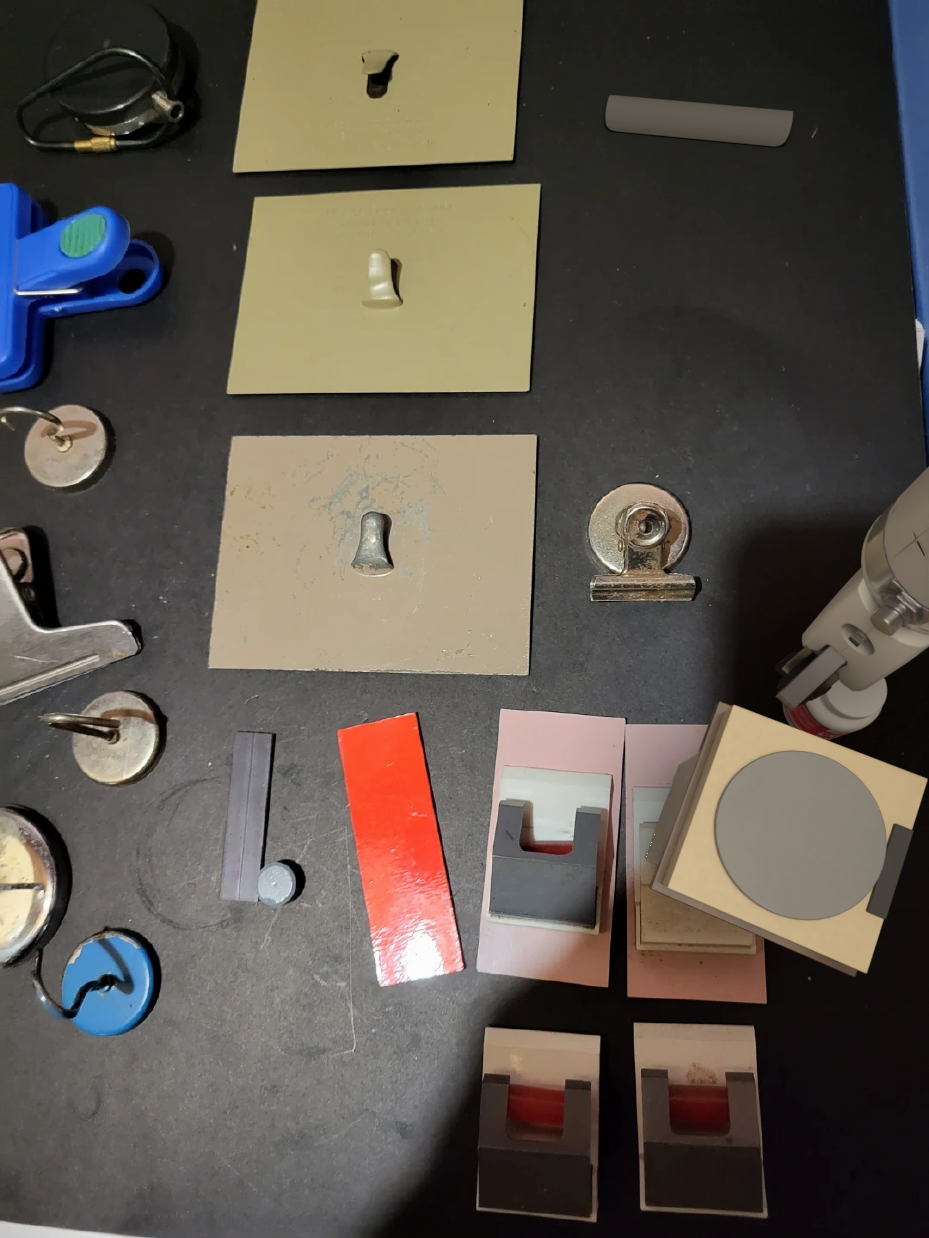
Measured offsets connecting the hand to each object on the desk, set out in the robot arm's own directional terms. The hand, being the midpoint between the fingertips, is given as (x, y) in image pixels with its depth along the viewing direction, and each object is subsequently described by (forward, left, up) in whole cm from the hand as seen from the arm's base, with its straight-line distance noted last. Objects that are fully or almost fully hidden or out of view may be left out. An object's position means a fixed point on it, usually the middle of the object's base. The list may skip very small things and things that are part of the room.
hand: (844, 632), depth 59 cm
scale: (+1, +15, +6) cm, 16 cm away
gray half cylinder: (+27, -55, -21) cm, 65 cm away
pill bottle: (-4, +1, -21) cm, 21 cm away
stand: (+1, +15, -21) cm, 26 cm away
